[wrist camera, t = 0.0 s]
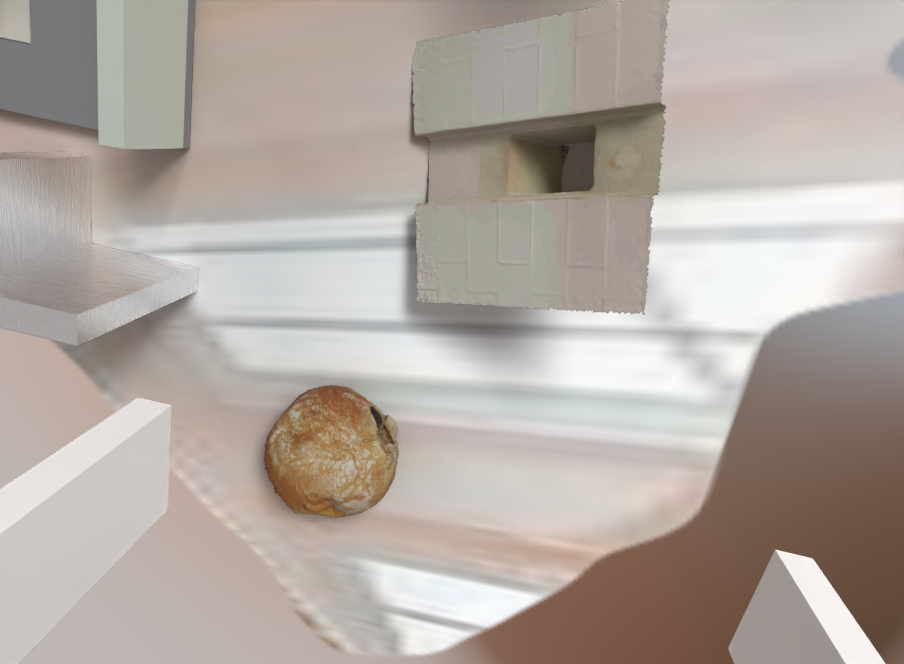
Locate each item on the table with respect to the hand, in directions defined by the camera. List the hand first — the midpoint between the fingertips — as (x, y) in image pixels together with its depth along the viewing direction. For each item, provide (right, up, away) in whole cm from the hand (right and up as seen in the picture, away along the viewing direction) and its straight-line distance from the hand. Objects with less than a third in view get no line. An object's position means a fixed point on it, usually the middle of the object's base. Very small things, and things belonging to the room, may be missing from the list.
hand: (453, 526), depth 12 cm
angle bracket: (-23, +12, +29) cm, 39 cm away
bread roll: (-9, -5, +33) cm, 34 cm away
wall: (+4, +15, +25) cm, 29 cm away
